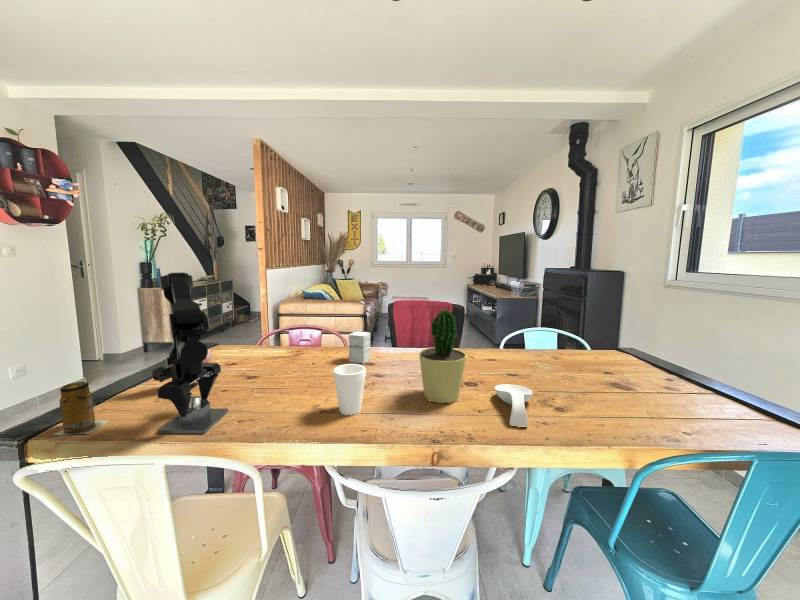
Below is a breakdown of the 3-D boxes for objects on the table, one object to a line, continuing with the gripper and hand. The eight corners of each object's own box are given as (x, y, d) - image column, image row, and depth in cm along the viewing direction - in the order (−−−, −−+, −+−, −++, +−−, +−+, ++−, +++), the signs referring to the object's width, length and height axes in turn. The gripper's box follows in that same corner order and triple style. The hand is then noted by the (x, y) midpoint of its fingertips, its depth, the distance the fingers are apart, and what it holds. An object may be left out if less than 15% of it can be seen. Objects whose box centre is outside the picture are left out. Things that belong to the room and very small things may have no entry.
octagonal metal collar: (190, 412, 93) (189, 399, 92) (214, 412, 93) (213, 399, 93) (174, 425, 86) (172, 411, 85) (200, 425, 86) (199, 411, 86)
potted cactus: (430, 383, 118) (432, 303, 114) (470, 393, 110) (474, 307, 106) (409, 399, 105) (411, 308, 101) (454, 411, 97) (457, 314, 93)
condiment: (77, 421, 89) (72, 380, 88) (110, 420, 90) (106, 379, 89) (52, 436, 82) (46, 391, 81) (88, 434, 83) (82, 390, 81)
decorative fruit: (180, 371, 128) (178, 346, 127) (199, 364, 136) (197, 341, 135) (199, 373, 126) (197, 348, 124) (216, 366, 133) (215, 343, 132)
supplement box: (348, 362, 141) (348, 334, 139) (356, 357, 148) (355, 330, 146) (363, 364, 138) (363, 335, 137) (370, 359, 145) (370, 332, 143)
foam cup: (332, 405, 100) (331, 365, 98) (361, 401, 103) (361, 362, 102) (337, 420, 91) (336, 376, 90) (369, 415, 95) (369, 372, 93)
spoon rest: (492, 391, 113) (493, 371, 112) (528, 395, 110) (529, 375, 109) (497, 426, 90) (498, 401, 89) (542, 431, 87) (544, 406, 86)
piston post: (187, 411, 96) (185, 389, 95) (228, 411, 96) (226, 389, 95) (158, 433, 84) (155, 408, 83) (204, 433, 84) (202, 408, 83)
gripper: (182, 344, 96) (186, 394, 98) (131, 365, 78) (138, 426, 80) (220, 344, 96) (223, 394, 98) (178, 365, 78) (183, 426, 80)
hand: (194, 408), depth 89 cm, fingers open, 9 cm apart
